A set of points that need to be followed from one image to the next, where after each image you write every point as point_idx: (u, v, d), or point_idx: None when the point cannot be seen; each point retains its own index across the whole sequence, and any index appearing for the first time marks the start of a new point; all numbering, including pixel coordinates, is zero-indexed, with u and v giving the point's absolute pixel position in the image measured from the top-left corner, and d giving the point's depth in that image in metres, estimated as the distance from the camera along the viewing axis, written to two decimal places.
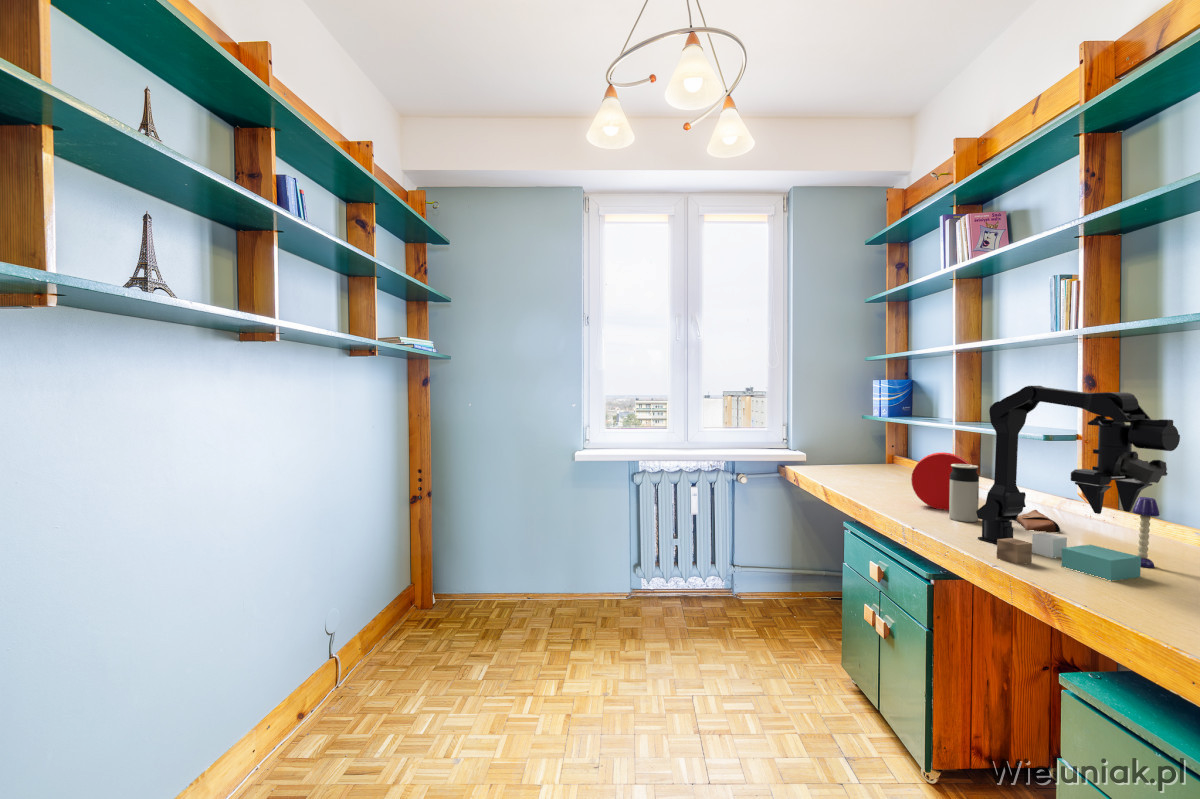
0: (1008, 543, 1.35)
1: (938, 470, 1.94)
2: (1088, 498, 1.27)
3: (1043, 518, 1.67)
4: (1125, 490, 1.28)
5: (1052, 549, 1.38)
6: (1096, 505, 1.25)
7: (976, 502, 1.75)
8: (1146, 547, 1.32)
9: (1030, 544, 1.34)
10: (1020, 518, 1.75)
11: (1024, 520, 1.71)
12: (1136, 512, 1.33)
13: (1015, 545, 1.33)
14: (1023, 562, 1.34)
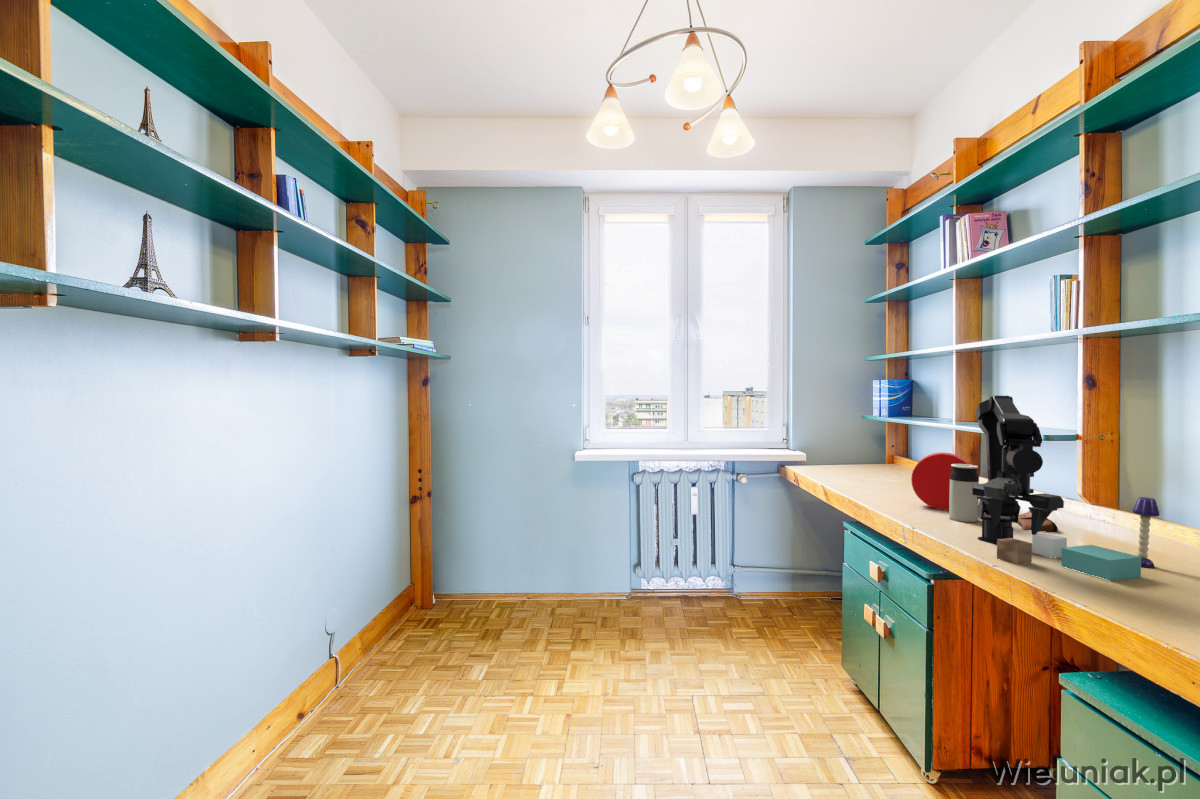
0: (1008, 543, 1.35)
1: (938, 470, 1.94)
2: None
3: None
4: None
5: (1052, 549, 1.38)
6: None
7: (976, 502, 1.75)
8: (1146, 547, 1.32)
9: (1030, 544, 1.34)
10: (1018, 518, 1.75)
11: (1022, 520, 1.72)
12: (1136, 512, 1.33)
13: (1015, 545, 1.33)
14: (1023, 562, 1.34)
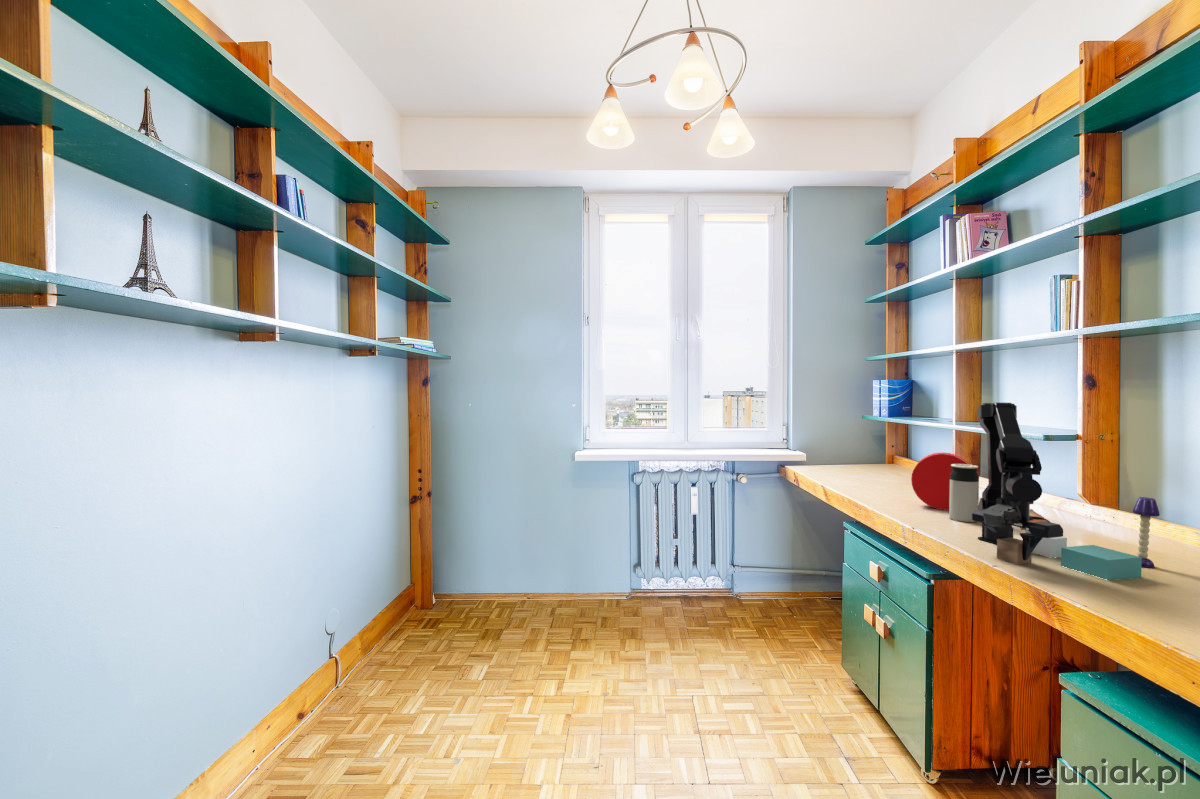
0: (1008, 543, 1.35)
1: (938, 470, 1.94)
2: None
3: (1038, 518, 1.68)
4: None
5: (1052, 549, 1.38)
6: None
7: (976, 502, 1.75)
8: (1146, 547, 1.32)
9: None
10: None
11: None
12: (1136, 512, 1.33)
13: (1015, 545, 1.33)
14: (1023, 562, 1.34)
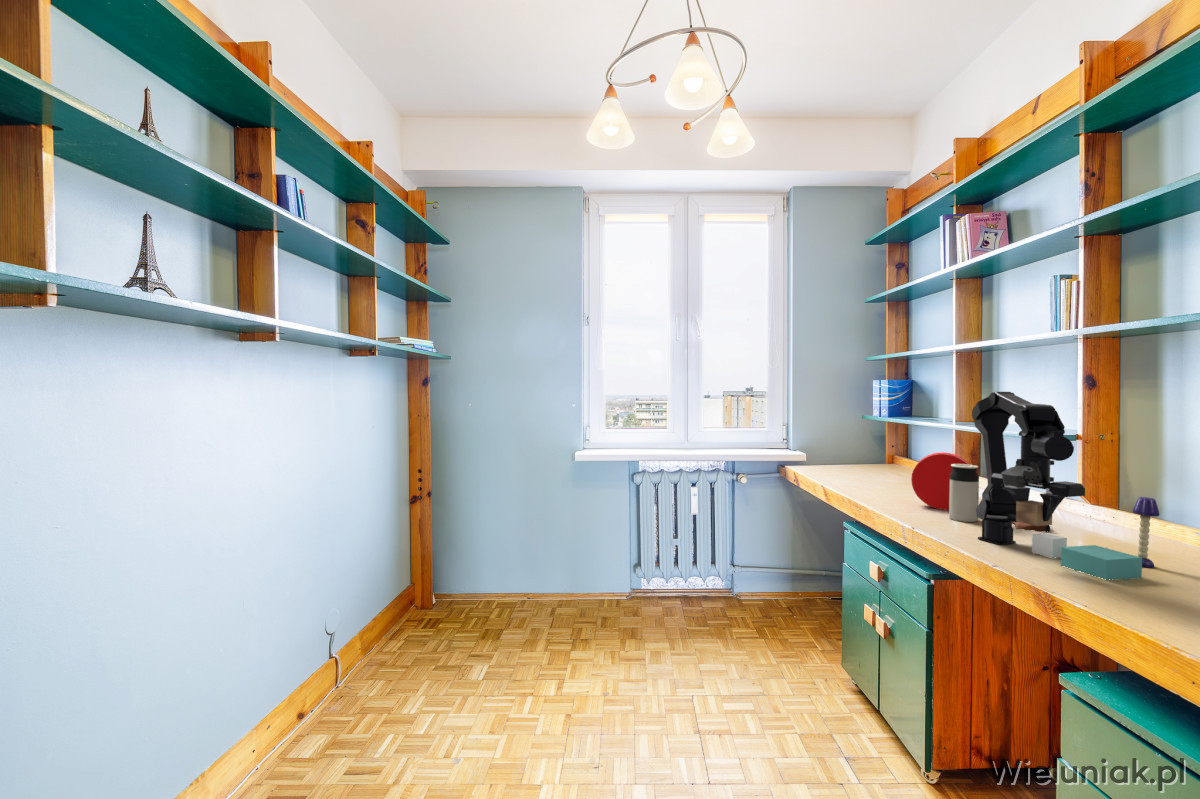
0: (1028, 504, 1.33)
1: (938, 470, 1.94)
2: None
3: None
4: None
5: (1052, 549, 1.38)
6: None
7: (976, 502, 1.75)
8: (1146, 547, 1.32)
9: None
10: None
11: None
12: (1136, 512, 1.33)
13: (1035, 506, 1.31)
14: (1043, 523, 1.31)
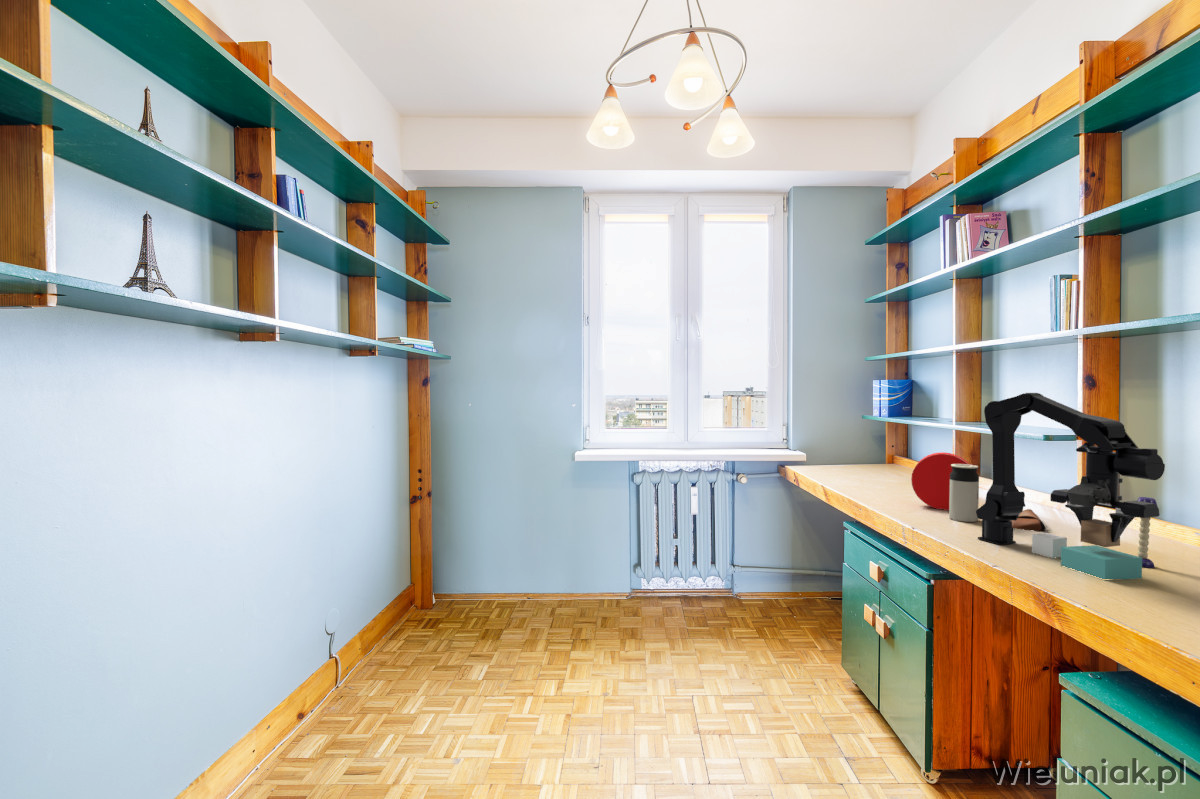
0: (1094, 524, 1.27)
1: (938, 470, 1.94)
2: None
3: (1031, 517, 1.69)
4: None
5: (1052, 549, 1.38)
6: None
7: (976, 502, 1.75)
8: (1146, 547, 1.32)
9: None
10: None
11: None
12: None
13: (1103, 526, 1.25)
14: (1111, 544, 1.25)
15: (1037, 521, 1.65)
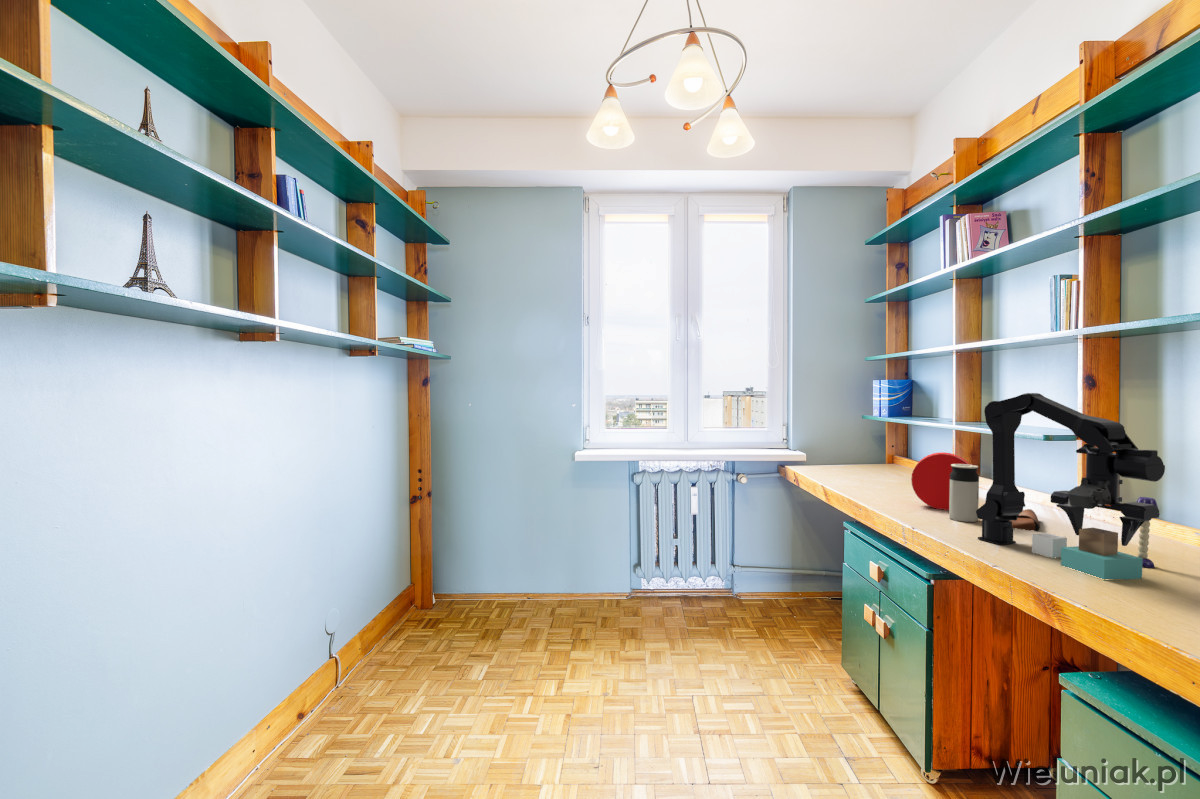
0: (1093, 533, 1.27)
1: (938, 470, 1.94)
2: None
3: (1026, 516, 1.69)
4: None
5: (1052, 549, 1.38)
6: None
7: (976, 502, 1.75)
8: (1146, 547, 1.32)
9: (1116, 534, 1.26)
10: None
11: None
12: None
13: (1101, 535, 1.26)
14: (1109, 553, 1.26)
15: (1031, 520, 1.66)
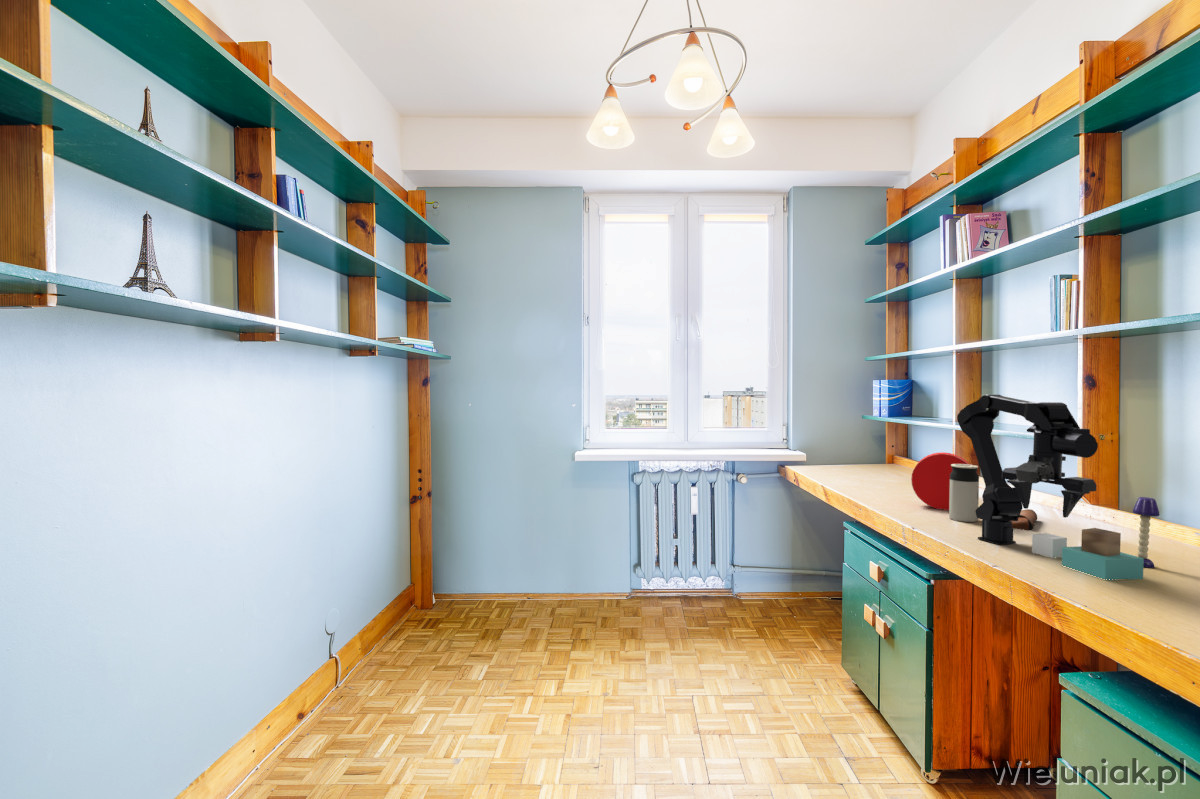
0: (1096, 533, 1.27)
1: (938, 470, 1.94)
2: None
3: (1022, 516, 1.70)
4: None
5: (1052, 549, 1.38)
6: None
7: (976, 502, 1.75)
8: (1146, 547, 1.32)
9: (1119, 534, 1.26)
10: None
11: None
12: (1136, 512, 1.33)
13: (1104, 535, 1.25)
14: (1112, 553, 1.25)
15: (1026, 520, 1.67)
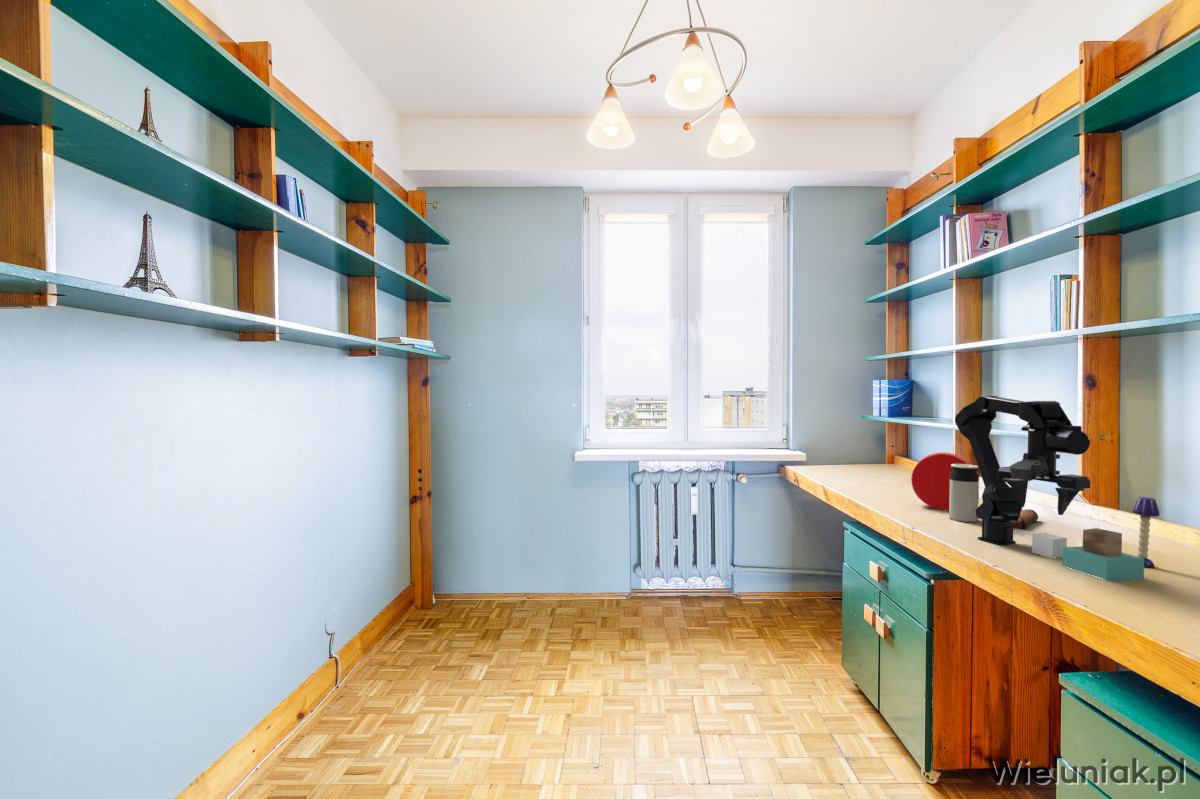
0: (1097, 533, 1.26)
1: (938, 470, 1.94)
2: None
3: None
4: None
5: (1052, 549, 1.38)
6: None
7: (976, 502, 1.75)
8: (1146, 547, 1.32)
9: (1120, 534, 1.26)
10: None
11: None
12: (1136, 512, 1.33)
13: (1106, 535, 1.25)
14: (1114, 553, 1.25)
15: (1019, 519, 1.68)
